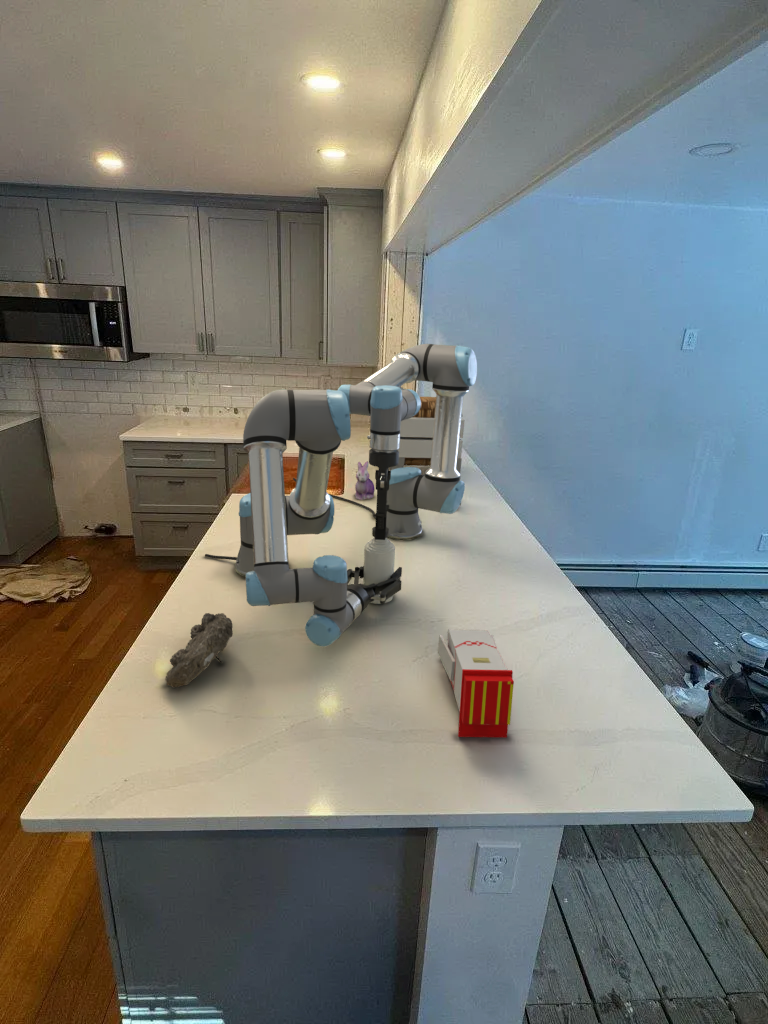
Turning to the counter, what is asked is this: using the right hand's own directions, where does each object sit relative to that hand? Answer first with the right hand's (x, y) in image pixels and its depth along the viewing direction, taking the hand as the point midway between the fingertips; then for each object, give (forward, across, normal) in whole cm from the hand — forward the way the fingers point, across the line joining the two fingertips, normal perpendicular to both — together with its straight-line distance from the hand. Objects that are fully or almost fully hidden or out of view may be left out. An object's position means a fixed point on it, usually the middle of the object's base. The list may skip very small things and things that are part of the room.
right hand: (380, 535), depth 150 cm
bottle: (+18, 0, 0) cm, 18 cm away
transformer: (+18, -127, +15) cm, 129 cm away
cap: (-2, 0, 0) cm, 2 cm away
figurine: (+18, -86, -9) cm, 88 cm away
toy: (+18, +39, +21) cm, 48 cm away
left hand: (+12, -4, +2) cm, 12 cm away
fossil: (+18, +34, -36) cm, 53 cm away
